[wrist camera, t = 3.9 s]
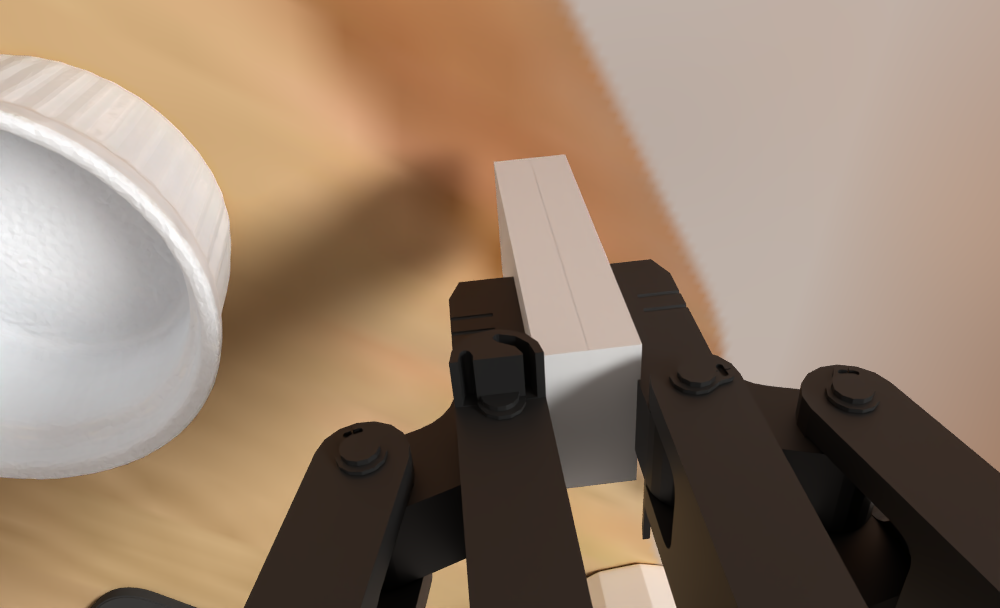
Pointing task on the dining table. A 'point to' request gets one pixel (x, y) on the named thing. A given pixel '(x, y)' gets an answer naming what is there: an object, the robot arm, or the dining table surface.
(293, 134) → the dining table surface
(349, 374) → the dining table surface
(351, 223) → the dining table surface
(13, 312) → the ramekin
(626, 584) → the white cup
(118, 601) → the phone
